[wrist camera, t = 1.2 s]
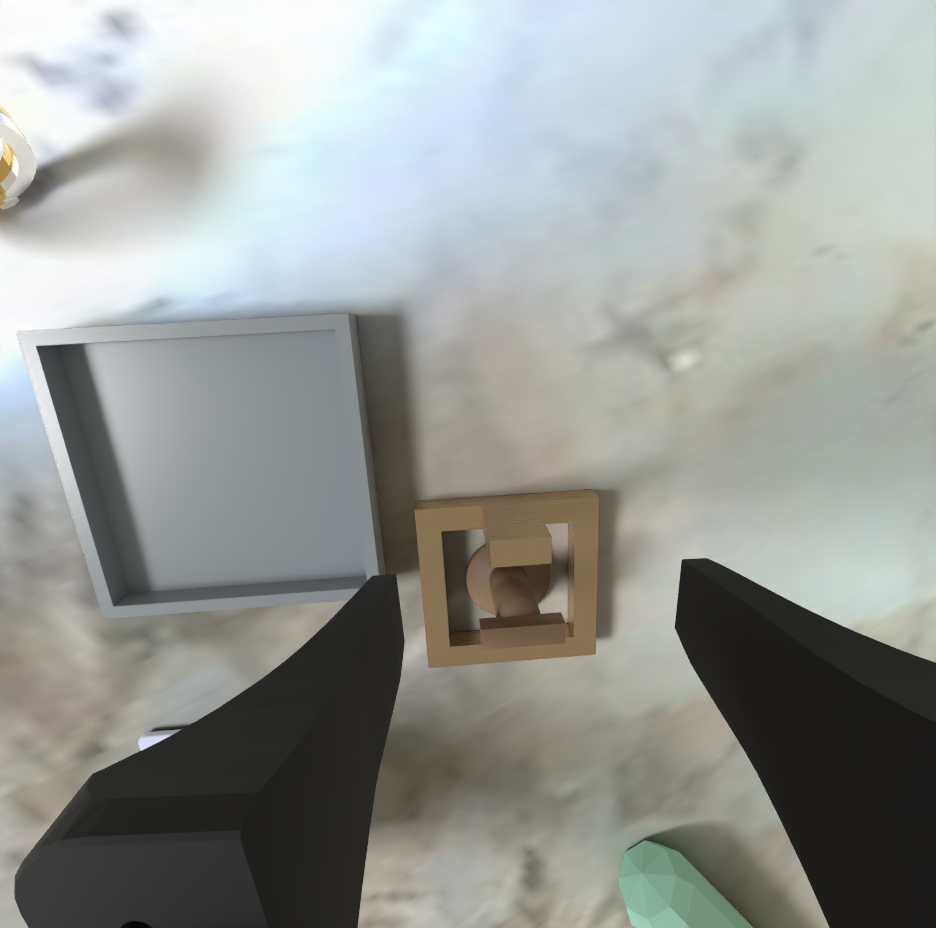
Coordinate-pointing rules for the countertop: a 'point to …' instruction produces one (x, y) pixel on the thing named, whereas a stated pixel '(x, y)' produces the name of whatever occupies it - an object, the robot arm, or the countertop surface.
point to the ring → (14, 162)
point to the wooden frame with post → (510, 544)
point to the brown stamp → (512, 604)
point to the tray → (213, 460)
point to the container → (671, 892)
